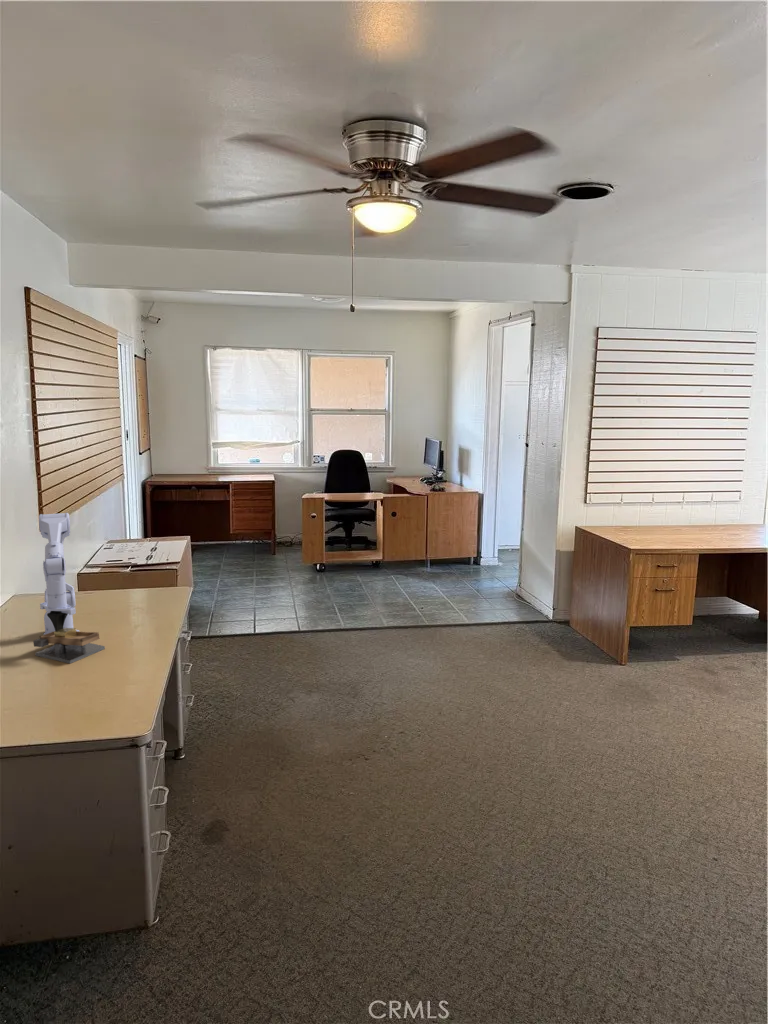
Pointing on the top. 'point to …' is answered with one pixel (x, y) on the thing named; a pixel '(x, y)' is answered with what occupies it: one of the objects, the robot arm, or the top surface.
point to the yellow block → (66, 633)
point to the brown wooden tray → (67, 639)
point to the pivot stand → (69, 652)
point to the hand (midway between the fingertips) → (59, 632)
